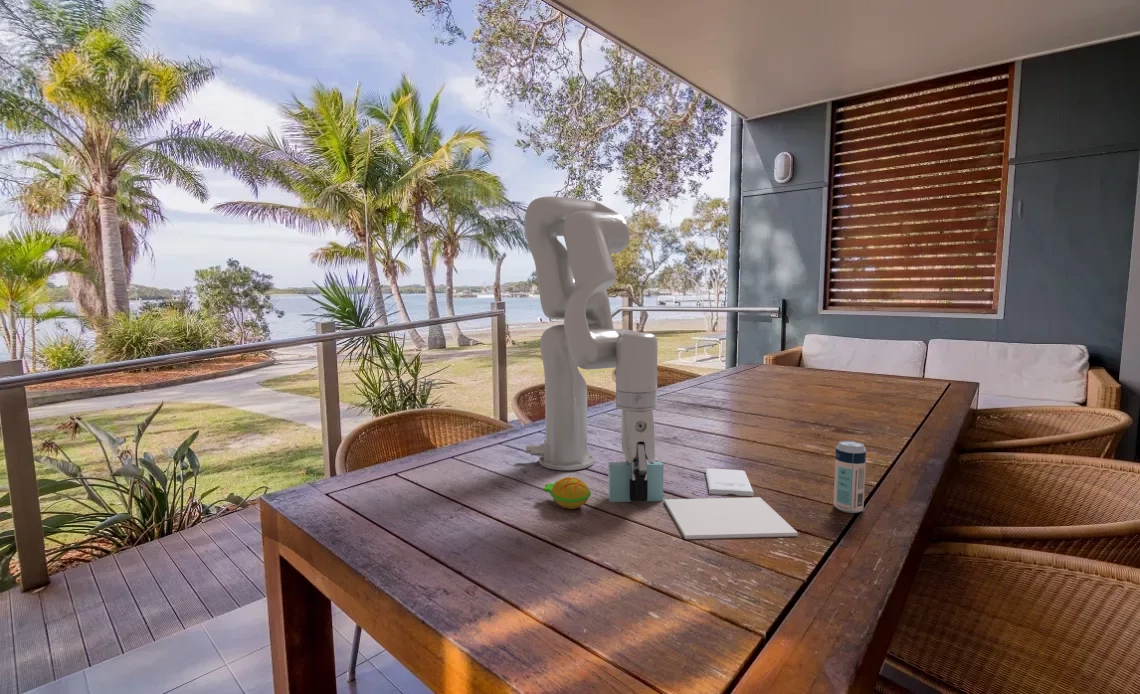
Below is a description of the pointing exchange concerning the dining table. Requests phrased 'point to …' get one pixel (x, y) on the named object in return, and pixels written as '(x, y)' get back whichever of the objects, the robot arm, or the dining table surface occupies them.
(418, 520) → the dining table surface
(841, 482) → the beer can
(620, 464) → the tile
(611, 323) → the robot arm
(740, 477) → the external hard drive
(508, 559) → the dining table surface
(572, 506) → the yellow green rounded piece
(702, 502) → the mat
